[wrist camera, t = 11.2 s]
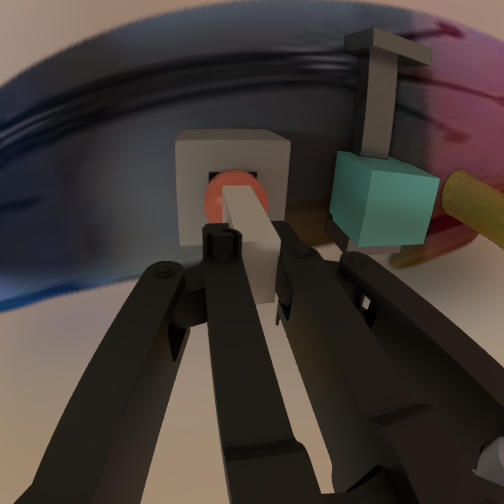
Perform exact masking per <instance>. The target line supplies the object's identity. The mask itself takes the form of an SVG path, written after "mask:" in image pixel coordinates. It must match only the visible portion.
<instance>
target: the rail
mask: <svg viewBox="0 0 504 504" xmlns="http://www.w3.org/2000/svg"><path fill="white" fill-rule="evenodd" d="M344 52H348V53H352V54H356V55H359V59H358V76H357V90H356V102H355V113H354V123H353V133H352V141H351V150H350V153H353V154H355V155H357V156H359V157H368V158H376V159H384V160H388V154H389V148H390V141H391V133H392V125H393V116H394V107H395V96H396V83H397V67H398V66H431V63H432V50H431V49H429V48H427V47H424V46H422V45H420V44H417V43H415V42H413V41H410V40H408V39H405V38H402V37H400V36H397V35H394V34H392V33H389V32H386V31H383V30H380V29H377V28H370V29H366V30H363V31H359V32H356V33H353V34H350V35H346V36H345V39H344ZM325 232H326V233H327V234H328V235H329V236H330V238H331V239H332V240H333V241H334V242H335V244H336V245H337V246H338V247H339V248H340V250H341V251H342V252H343V253H345V252H349V251H358V252H361V253H363V254H366V255H372V254H390V253H400V249H401V246H402V245H388V246H363V247H357V245H356V244H355V243H354V242H353V241H352V240H351V239H350V238H349V237H348V236H347V235H346V234H345V233H344V232H343V231H342V230H341V228H340V227H339V226H338V225H337V224H336V223H335V222H334V221H333V216H327V220H326V226H325Z"/></svg>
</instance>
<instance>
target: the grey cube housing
mask: <svg viewBox="0 0 504 504" xmlns="http://www.w3.org/2000/svg"><path fill="white" fill-rule="evenodd" d="M290 147H291V141H289V140H287V139H285V138H283V137H281V136H279V135H277V134H275V133H273V132H271V131H269V130H267V129H182V131H181V132H180V134H179V135H178V137H177V139H176V140H175V162H176V190H177V210H178V226H179V240H180V246H195V245H203V243H202V228H203V227H204V226H205V224H206V223H209V221H208V220H207V217H206V214H205V207H204V194H205V190H206V187H207V185H208V183H209V182H210V180H211V179H212V178H213V177H214V176H216V175H217V174H219V173H221V172H223V171H226V170H230V169H239V170H243V171H246V172H248V173H250V174H252V175H253V176H254V177H255V178H256V179H257V180H258V182H259V183H260V185H261V186H262V188H263V189H264V191H265V193H266V195H267V198H268V210H267V216H268V218H269V220H270V221H281V220H283V221H284V216H285V206H286V195H287V183H288V172H289V160H290Z"/></svg>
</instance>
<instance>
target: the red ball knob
mask: <svg viewBox="0 0 504 504" xmlns="http://www.w3.org/2000/svg"><path fill="white" fill-rule="evenodd" d="M231 185H250V186H251V187H252V189H253V191H254V193H255V195H256V196H257V198H258V200H259V202H260V203H261V205H262V207H263V209H264V211H265V212H266V214H267V210H268V198H267V195H266V193H265V191H264V189H263V188H262V186H261V185H260V183H259V182H258V180H257V179H256V178H255V177H254V176H253V175H252V174H250V173H248V172H246V171H243V170H239V169H230V170H226V171H223V172H221V173H219V174H217V175H216V176H214V177H213V178H212V179H211V180H210V182H209V183H208V185H207V187H206V190H205V194H204V207H205V214H206V217H207V220H208V221H209V223H222V192H223V186H231Z"/></svg>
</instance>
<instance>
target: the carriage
mask: <svg viewBox="0 0 504 504" xmlns="http://www.w3.org/2000/svg"><path fill="white" fill-rule="evenodd" d="M439 181H440V178H438V177H436V176H434V175H432V174H429V173H427V172H425V171H423V170H421V169H419V168H417V167H415V166H412V165H410V164H408V163H405V162H401V161H399V160H396V159H394V158H392V157H388V160H384V159H376V158H368V157H359V156H357V155H355V154H353V153H350V152H345V151H337V158H336V166H335V174H334V181H333V189H332V196H331V203H330V209H329V212H330V213H331V214H332V215H333V221H334V222H335V223H336V224H337V225H338V226H339V227H340V228H341V230H342V231H343V232H344V233H345V234H346V235H347V236H348V237H349V238H350V239H351V240H352V241H353V242H354V243H355V244H356V245H357V247H363V246H388V245H412V244H423V243H424V240H425V236H426V233H427V229H428V226H429V222H430V219H431V215H432V211H433V207H434V203H435V199H436V194H437V190H438V186H439Z"/></svg>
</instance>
